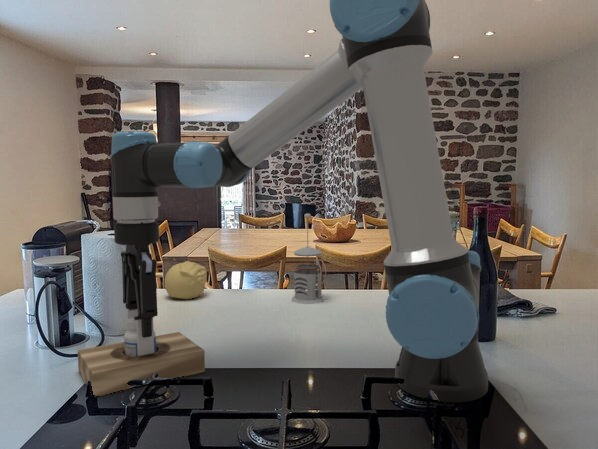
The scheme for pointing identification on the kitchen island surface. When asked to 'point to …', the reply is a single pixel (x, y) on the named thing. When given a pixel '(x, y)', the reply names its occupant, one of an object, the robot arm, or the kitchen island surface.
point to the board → (139, 363)
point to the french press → (308, 276)
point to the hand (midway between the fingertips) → (140, 348)
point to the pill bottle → (133, 339)
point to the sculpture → (185, 280)
